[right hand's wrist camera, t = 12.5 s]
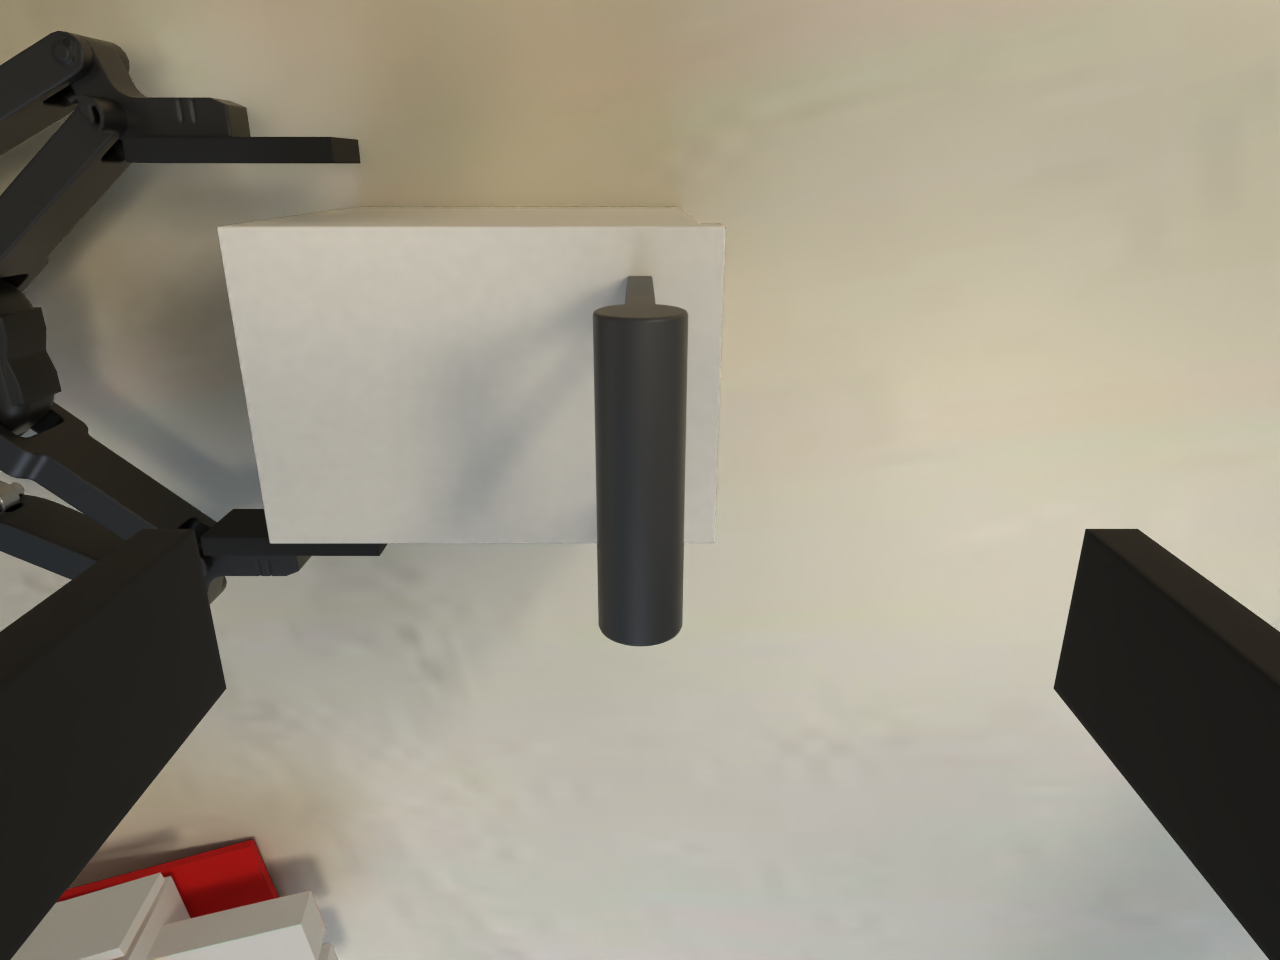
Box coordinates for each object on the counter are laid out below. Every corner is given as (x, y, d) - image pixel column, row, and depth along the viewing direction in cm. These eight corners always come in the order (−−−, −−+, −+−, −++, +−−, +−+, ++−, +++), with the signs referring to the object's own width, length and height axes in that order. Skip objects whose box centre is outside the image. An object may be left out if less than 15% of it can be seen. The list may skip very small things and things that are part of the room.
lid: (721, 223, 24) (768, 254, 16) (711, 527, 28) (746, 693, 19) (236, 223, 24) (11, 254, 16) (285, 527, 28) (121, 694, 19)
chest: (681, 206, 35) (700, 223, 24) (678, 429, 38) (692, 526, 28) (356, 206, 35) (237, 223, 24) (381, 430, 38) (285, 527, 28)
